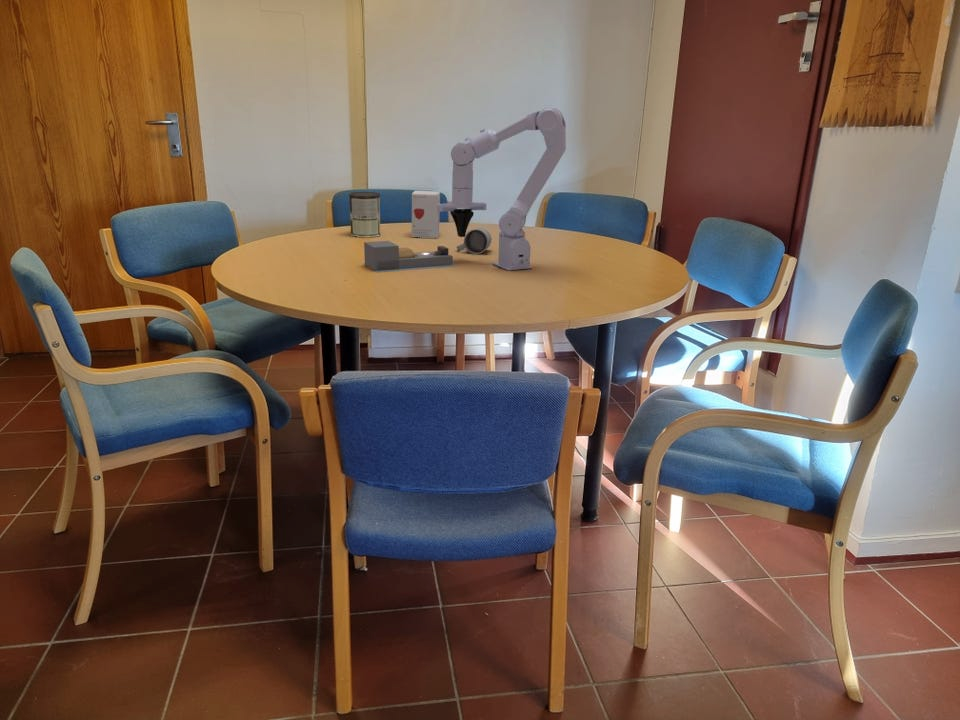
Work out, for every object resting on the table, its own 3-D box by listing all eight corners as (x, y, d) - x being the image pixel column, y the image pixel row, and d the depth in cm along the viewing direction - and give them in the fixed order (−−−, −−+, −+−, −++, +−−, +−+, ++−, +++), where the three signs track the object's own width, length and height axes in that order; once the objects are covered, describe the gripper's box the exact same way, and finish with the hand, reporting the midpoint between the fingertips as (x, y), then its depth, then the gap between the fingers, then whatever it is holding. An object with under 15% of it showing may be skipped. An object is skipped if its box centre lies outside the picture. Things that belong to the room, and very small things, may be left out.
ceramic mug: (492, 250, 220) (492, 225, 218) (487, 255, 213) (488, 229, 210) (459, 248, 222) (459, 224, 220) (453, 253, 215) (453, 228, 212)
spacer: (412, 266, 193) (412, 250, 191) (399, 267, 191) (398, 251, 189) (407, 263, 196) (407, 247, 194) (394, 264, 194) (393, 248, 193)
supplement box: (410, 238, 237) (410, 193, 232) (414, 233, 246) (414, 190, 241) (437, 238, 237) (437, 194, 232) (439, 234, 245) (440, 191, 240)
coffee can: (344, 234, 240) (343, 192, 235) (370, 231, 247) (369, 191, 242) (360, 238, 233) (358, 195, 228) (386, 236, 239) (385, 194, 234)
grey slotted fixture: (458, 267, 195) (459, 243, 192) (376, 274, 184) (376, 248, 182) (441, 259, 205) (441, 236, 202) (362, 265, 194) (361, 240, 192)
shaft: (448, 262, 197) (448, 248, 196) (416, 264, 193) (416, 250, 192) (442, 259, 201) (442, 245, 199) (411, 262, 196) (411, 247, 195)
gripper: (479, 185, 201) (477, 232, 205) (432, 186, 194) (432, 235, 199) (490, 188, 195) (488, 236, 199) (443, 189, 188) (442, 239, 193)
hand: (461, 236), depth 199 cm, fingers closed
